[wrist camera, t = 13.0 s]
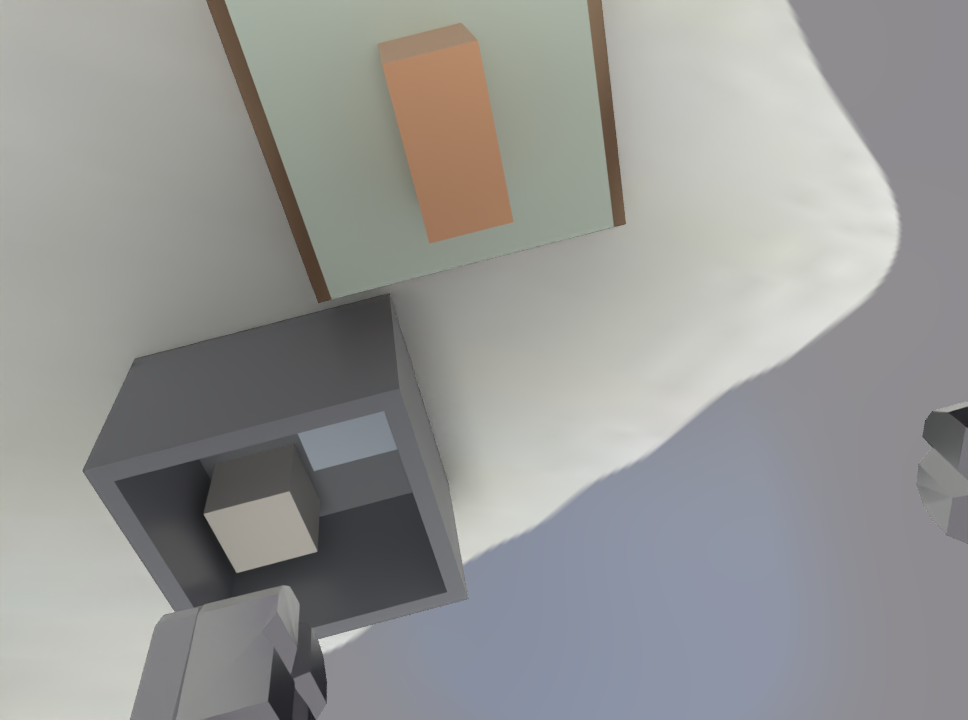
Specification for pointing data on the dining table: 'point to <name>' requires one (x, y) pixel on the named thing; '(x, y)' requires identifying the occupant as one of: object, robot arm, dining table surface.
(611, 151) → the walnut board
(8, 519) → the dining table surface
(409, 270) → the lid
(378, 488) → the storage box
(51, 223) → the dining table surface
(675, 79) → the dining table surface
